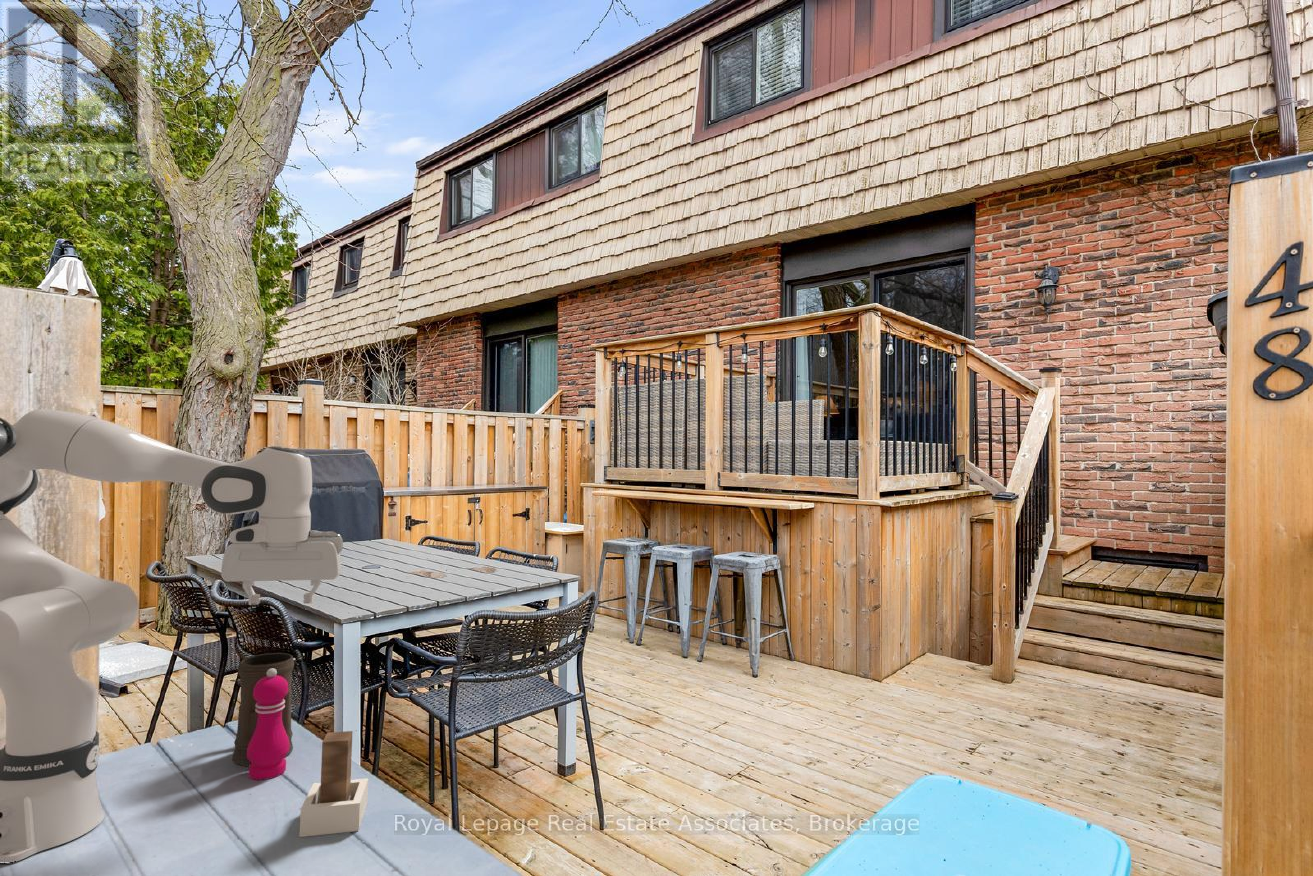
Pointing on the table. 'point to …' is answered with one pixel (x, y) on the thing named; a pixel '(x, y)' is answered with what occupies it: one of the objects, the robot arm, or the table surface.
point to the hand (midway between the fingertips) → (281, 603)
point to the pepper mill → (269, 728)
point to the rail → (336, 767)
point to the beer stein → (247, 718)
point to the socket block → (333, 811)
